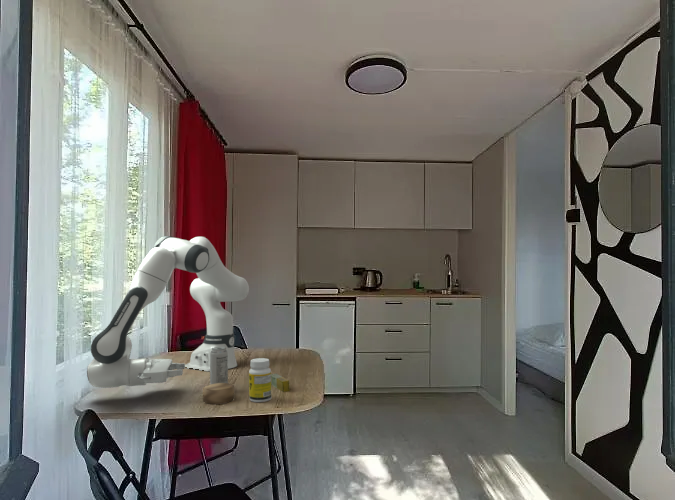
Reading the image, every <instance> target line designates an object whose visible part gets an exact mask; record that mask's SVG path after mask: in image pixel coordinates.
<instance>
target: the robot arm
mask: <svg viewBox="0 0 675 500" xmlns="http://www.w3.org/2000/svg"><path fill="white" fill-rule="evenodd" d="M175 269H179V270H182V271H186V272H189V273H192V274H196V276H197V278H195V279H193V281H192V282H191V284H190V286H189V293H190V296H191V297H192V299H193V300H195V302H197V303H198V304H199V305H200V306H201V309H202V310H203V312H204V315H205V321H206V334H205V335H204V336H202V335H201V340H203V342H202V344H200V345H199V346H198V347H197V348H196V349H194V350H193V351H192V352H191V354H190V359H189V360H190V361H189V362H187V363H185V362H182V363H179V362H173V359H171V358H150V357H142V358H131V359H130V357H131V353H132V349H133V348H132V347H133V344H132V342H133V341H132V340H131V338H130V337H129V335H128V334H129V332H130V330H131V328H132V326H133V325H134V323H135V322H136V319H137V318H138V315H139V314H140V313H141V312H142V310H143V309H144V308H146V307H147V306H148V305H150V304H151V303H153V302H155V301H157V300H158V298H159V297H160V296H161V295H162V293H164V291H165V289H166V287H167V284H168V283H169V280H170V279H171V277H172V273H173V271H174V270H175ZM249 291H250V286H249V283H248V281H247V280H246V278H245V277H242V276H239V275H237V274H235V273H233V271H231V270H230V269H229V268H227V267H226V266H225V265H224V263H223V262H222V260H221V258H220V256H219V254H218V252H217V250H216V248H215V246H214V245H213V244H212V243H211V241H210V240H209V239H208V238H206V236H195V237H193V238H191V239H190V240H187V239H182V238H179V237H175V236H171V235H166V236H165V235H164V236H162V237H160V238H158V239H157V240H156V241H155V243H154V246H153V247H152V249H150V251H148V253H147V254H146V256H145V257H144V258H143V260H142V262H141V263H140V264H139V266H138V267H137V270H136V271H135V273H134V276H133V277H132V280H131V282H130V284H129V287H128V290H127V291H126V294H125V297H124V299H123V301H122V302H121V304H120V305H119V307H118V308H117V310H116V312H115V313H114V315H113V317H112V319H111V321H110V322H109V324H108V326H106V327H105V328H104V329H103V330H102V331H101V332H99V333H98V334H97V335H96V336H95V337H94V338H93V340H92V342H91V345H90V353H91V355H92V357H93V359H92V360H91V362H90V363H89V364H88V365H87V368H86V376H87V381H88V383H89V384H90V385H91V386H92V387H95V388H99V389H108V388H109V389H112V388H119V387H122V386H124V387H125V386H127V387H138V386H140V387H141V386H146V385H147V384H161V383H165V382H167V380H168V378H173V377H177V376H180V377H181V376H182V375H183V374H184V369H189V368H193V369H192V370H195V369H199V370H198V371H202V370H204V371H203V372H210V352H211V350H212V348H214V347H226V350H227V352H228V370H229V369H233V368H236V367H238V363H237V362H238V361H237V357H236V353H235V333H234V316H233V315H232V313H231V312H230V311H228V310H226V309H224V307H223V306H222V304H221V303H222V302H223V303H225V302H227V303H231V302H232V303H233V302H238V301H244V300H245V299H246V298H247V296H248V295H249ZM185 367H187V368H185Z"/></svg>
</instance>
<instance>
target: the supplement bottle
mask: <svg viewBox="0 0 675 500" xmlns="http://www.w3.org/2000/svg"><path fill="white" fill-rule="evenodd" d="M249 363H250V369H249V371H248V389H249V392H248V396H249V397H248V399H249V400H250V401H251V402H253V403H264V402H269V401H271V399H272V398H273V397H272V385H271V374H272V369H271V368H270V359H269V358H264V357H261V358H259V357H258V358H253V359H251V360H250V362H249Z"/></svg>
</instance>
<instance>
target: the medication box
mask: <svg viewBox="0 0 675 500" xmlns="http://www.w3.org/2000/svg"><path fill="white" fill-rule="evenodd" d="M271 387H274V388H276V389H277V390H279V391H281V392H283V393H287V392H291V390H290V388H291V387H290V380H289V379H287V378H285V377H284V376H282V375H279V374H278V373H271Z"/></svg>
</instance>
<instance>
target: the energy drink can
mask: <svg viewBox="0 0 675 500" xmlns="http://www.w3.org/2000/svg"><path fill="white" fill-rule="evenodd" d="M228 373H229V369H228V352H227V350H226V347H214V348H212V350H211V352H210V371H209V385H211V384H216V383H228V384H229V374H228Z"/></svg>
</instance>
